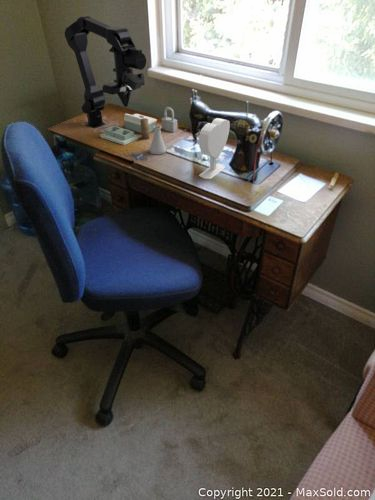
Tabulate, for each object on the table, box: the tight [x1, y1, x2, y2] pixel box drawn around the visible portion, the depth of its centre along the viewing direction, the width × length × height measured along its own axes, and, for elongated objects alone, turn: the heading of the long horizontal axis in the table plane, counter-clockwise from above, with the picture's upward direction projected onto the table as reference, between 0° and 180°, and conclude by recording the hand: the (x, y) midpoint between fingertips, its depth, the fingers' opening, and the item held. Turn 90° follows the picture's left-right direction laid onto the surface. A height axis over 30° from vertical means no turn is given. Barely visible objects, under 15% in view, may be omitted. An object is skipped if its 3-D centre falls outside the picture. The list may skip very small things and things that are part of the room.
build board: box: [99, 125, 140, 146], centre depth 160 cm, size 14×9×3 cm, turn 53°
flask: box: [148, 125, 168, 155], centre depth 147 cm, size 7×7×10 cm
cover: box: [123, 113, 158, 125], centre depth 166 cm, size 12×8×3 cm
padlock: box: [160, 106, 178, 133], centre depth 166 cm, size 7×4×10 cm, turn 51°
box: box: [123, 119, 158, 134], centre depth 168 cm, size 12×8×4 cm, turn 53°
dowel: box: [140, 118, 150, 141], centre depth 158 cm, size 3×3×8 cm
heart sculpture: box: [198, 117, 231, 180], centre depth 132 cm, size 16×5×18 cm, turn 148°
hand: (125, 106), depth 156 cm, fingers closed
